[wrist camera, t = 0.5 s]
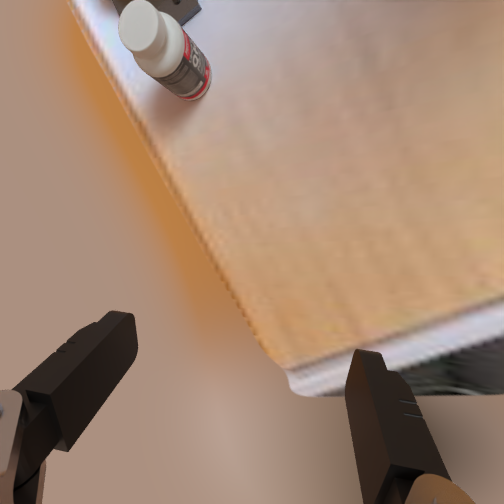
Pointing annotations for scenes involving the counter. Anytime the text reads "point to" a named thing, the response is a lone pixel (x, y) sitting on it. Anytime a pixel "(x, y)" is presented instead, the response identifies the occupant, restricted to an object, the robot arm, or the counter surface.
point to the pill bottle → (164, 50)
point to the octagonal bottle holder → (168, 8)
